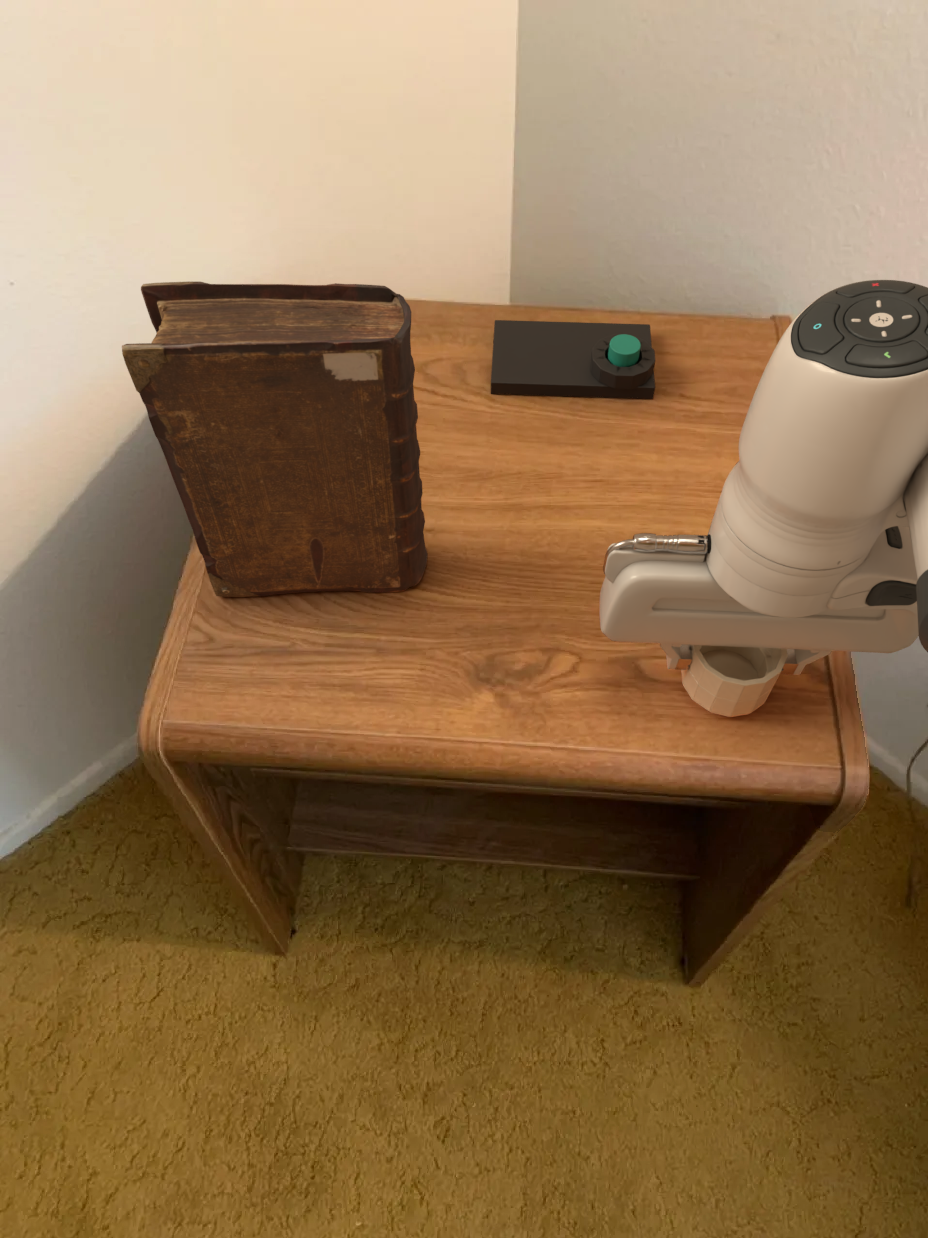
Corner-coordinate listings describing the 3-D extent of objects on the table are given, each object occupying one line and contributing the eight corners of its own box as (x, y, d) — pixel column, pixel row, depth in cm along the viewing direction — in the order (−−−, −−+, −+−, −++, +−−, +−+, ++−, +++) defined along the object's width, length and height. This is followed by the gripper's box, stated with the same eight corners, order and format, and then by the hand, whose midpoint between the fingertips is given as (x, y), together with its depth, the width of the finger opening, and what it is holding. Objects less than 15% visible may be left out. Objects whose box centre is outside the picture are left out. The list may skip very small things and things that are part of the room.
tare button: (637, 347, 85) (640, 334, 84) (639, 368, 84) (641, 354, 82) (607, 346, 85) (609, 333, 84) (608, 367, 84) (610, 353, 83)
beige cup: (762, 646, 70) (780, 608, 66) (773, 722, 66) (793, 687, 62) (677, 642, 70) (689, 604, 66) (683, 718, 66) (697, 683, 62)
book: (432, 544, 76) (415, 281, 55) (422, 615, 72) (400, 360, 51) (232, 532, 77) (142, 269, 56) (211, 601, 73) (107, 345, 52)
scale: (647, 335, 90) (652, 310, 88) (653, 401, 85) (658, 376, 83) (494, 331, 91) (494, 305, 88) (490, 396, 86) (490, 371, 83)
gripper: (610, 577, 53) (587, 695, 65) (972, 591, 53) (883, 709, 64) (607, 495, 57) (585, 621, 68) (945, 507, 56) (866, 633, 67)
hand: (732, 664), depth 66 cm, fingers closed on beige cup, 6 cm apart
